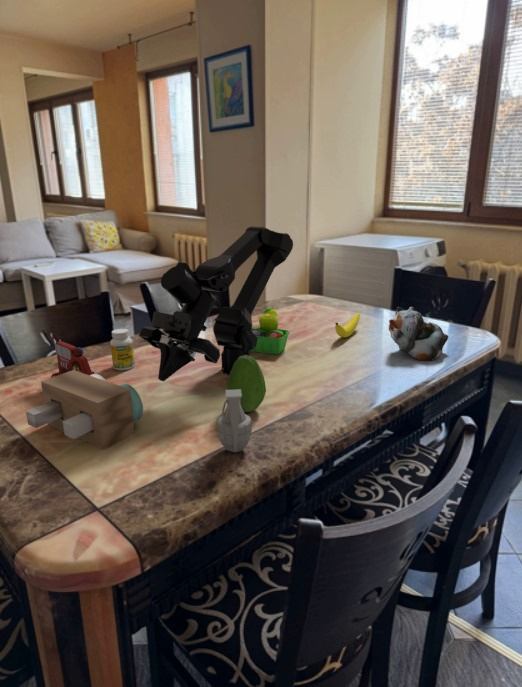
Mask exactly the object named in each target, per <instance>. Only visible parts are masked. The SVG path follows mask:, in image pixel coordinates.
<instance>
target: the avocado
mask: <svg viewBox="0 0 522 687" xmlns="http://www.w3.org/2000/svg"><path fill="white" fill-rule="evenodd" d="M262 371H263V370H262V369H261V367H260V365H259V363H258V361H257V360H256V358H254V357H252V356H251V357H250V356H248V355H243V356H240V357H239V358H238V359H237V360H236V361H235V363H234V365H233V367H232V370H231V372H230V374H228V379H227V382H226V386H225V390H236V389H241V394H242V397H241V399H240V405H241V407H242V409H243V411H244V413H250V412H253V411H255V410H257V409H258V408H259V407H260V405H261V404H262V403H263V401H264V399H265V396H266V392H267V388H266V387H267V386H266V380H265V376H264V373H263V372H262Z"/></svg>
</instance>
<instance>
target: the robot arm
mask: <svg viewBox="0 0 522 687" xmlns="http://www.w3.org/2000/svg"><path fill="white" fill-rule="evenodd" d="M293 247H294V241H293V239H292V238H291V235H290V234H289V233H286V232H278V231H275V230H271V229H269V228H266V227H265V226H249V227H246V230H245V232H244V233H243V234H241V236H239V238H238V239H236V240H235V241H234V242H233V243H232V244H231V245H230V246H228V247H227V249H225V250H224V251H223V252H222V253H221V254H219V255H218V256H216V257H212V258H209V259H207V260H206V261H203V262H201V263H200V264H198V266H197V267H196V268H195V270H192V269H191V268H190V266H189V264H188V263H186V262H182V261H178V262H177V264H176V265H175V266H173V267H171V268H170V269H168V270H167V271H166V272H165V273H163V275H162V277H161V279H160V285H161V288H163V290H164V291H166V292H167V293H168V294H169V295H170V296H171V297H172V298H173V299H174V300H175V301H177V303H179V304H181V305H183V306H182V307H181V310H180V311H178V310H175V311H174V312H173V314H170V313H165V312H159V311H154V312H153V315H152V321H151V326H148V325H147V326H144V327H142V329H141V331H140V332H139V334H138V336H139V337H140V338H141V339H142V340H143V341H145V342H147V343H148V344H149V345H151V346H152V347H153V348H155V349H158V350H159V351H160V363H159V368H158V377H157V379H158V380H159V381H161V382H165V381H166V380H167V379H169V378H170V377H171V376H173V375H174V374H175V373H176V372H178V371H179V370H181V369H182V368H184V366H186V365H188V364H189V363H191V362H195V361H196V359H195V355H196V353H197V354H201V355H203V357H204V361H206V362H208V363H209V362H210V363H213V364H218V361H219V360H220V358H221V369H222V374H224V375H225V374H226V375H230V372H231V370H232V367H233V365H234V363H235V361H236V360H237V359H238V358H239V357H240V356H243V355H248V356H250V357H252V356H251V354H252V353H251V352H252V351H251V350H253V349H254V347H256V345H257V340H258V338H257V337H256V336H255V335H254V333H253V332H252V331H251V329H252V328H253V319H252V314H253V312H254V310H255V308H256V306H257V304H258V302H259V300H260V298H261V296H262V294H263V293H264V292H263V291H264V290H265V288H266V286H267V284H268V282H269V280H270V278H271V276H272V274H273V272H274V270H275V268H276V267H278V266H279V265H282V264H283V263H284V262H285V261H286V260H287V258H288V257H289V256H290V254H291V253H292V250H293ZM254 253H256V256H257V258H256V260H255V262H254V263H253V266H252V268H251V270H250V272H249V274H248V276H247V278H246V280H245V281H244V283H243V284H242V287H241V289H240V291H239V293H238V294H237V297H236V298H235V300H234V302H233V304H232V305H231V306H230V307H229V306H228V307H227V306H222V307H221V303H220V301H219V296H218V295H213V294H212V293H211V292H210V291H212V292H219V293H225V292H226V291H227V290H228V289H229V287H230V286H232V285H231V284H232V283H233V282H234V281H235V279H236V272H237V271H238V269H239V268H240V267H242V265H244V263H245V262H246V261H247V260H248V259H250V258H251V256H253V254H254ZM214 308H215V309H220V310H219V312H218V315H217V316H216V317H215V319H214V321H215V322H214V324H213V328H212V332H213V334H214V338H215V341H216V343H217V346H220V347H223V348H222V349H223V350H222V351H221V350H220V349H219V348H218V347H217V346H216V345H215V344H214V343H213V342H211V341H210V340H209V339H207V338H202V337H199V336H200V334H201V332H206V330H207V328H208V327H207V326H206V325H205V324H206V322H207V319H208V317H209V316H210V313H211V311H212V309H214ZM161 329H162V330H161ZM220 351H221V352H220Z"/></svg>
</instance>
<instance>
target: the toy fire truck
mask: <svg viewBox="0 0 522 687" xmlns="http://www.w3.org/2000/svg"><path fill="white" fill-rule="evenodd" d="M54 349H55V350H54V351H55V354H56V357H57V358H56V359H57V367H58V371H57V372H54V373H52V374H51V376H50V378H52V377H55V376H58V375H61V374H64V373H66V372H69V371H72V370H75V371H78V372H81V373H84V374H87V375H92V374H97V373H96V372H95V371H92V369H91V366H90V363H89V361H88V358H87V357H86V356H85V355H84V349H83V348H82V347H76V346H75V345H72V344H70V343H67V342H64V341H57V342H55V344H54Z"/></svg>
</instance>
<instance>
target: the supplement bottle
mask: <svg viewBox="0 0 522 687" xmlns="http://www.w3.org/2000/svg"><path fill="white" fill-rule="evenodd" d="M129 335H130V333H129V329H127V328H117V329H114V330H112V331H111V337H112V339H111V340H110V342H109V343H110V352H111V354H110V355H111V360H112V368H113V369H114V370H116V371H129V370H131V369H133V368H134V367H135V365H136V363H135V362H136V361H135V355H134V344H133V340H132V338H131V337H130V336H129Z"/></svg>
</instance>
